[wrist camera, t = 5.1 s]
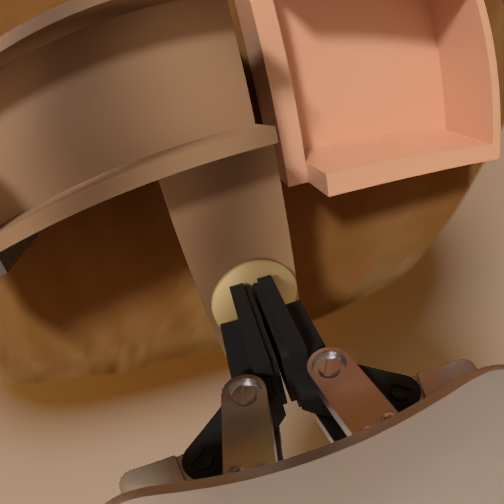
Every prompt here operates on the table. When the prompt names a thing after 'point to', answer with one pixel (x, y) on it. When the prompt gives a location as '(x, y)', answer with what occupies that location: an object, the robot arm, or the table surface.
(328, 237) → the table surface
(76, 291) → the table surface
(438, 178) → the table surface
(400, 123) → the dish
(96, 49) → the lever
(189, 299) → the table surface
